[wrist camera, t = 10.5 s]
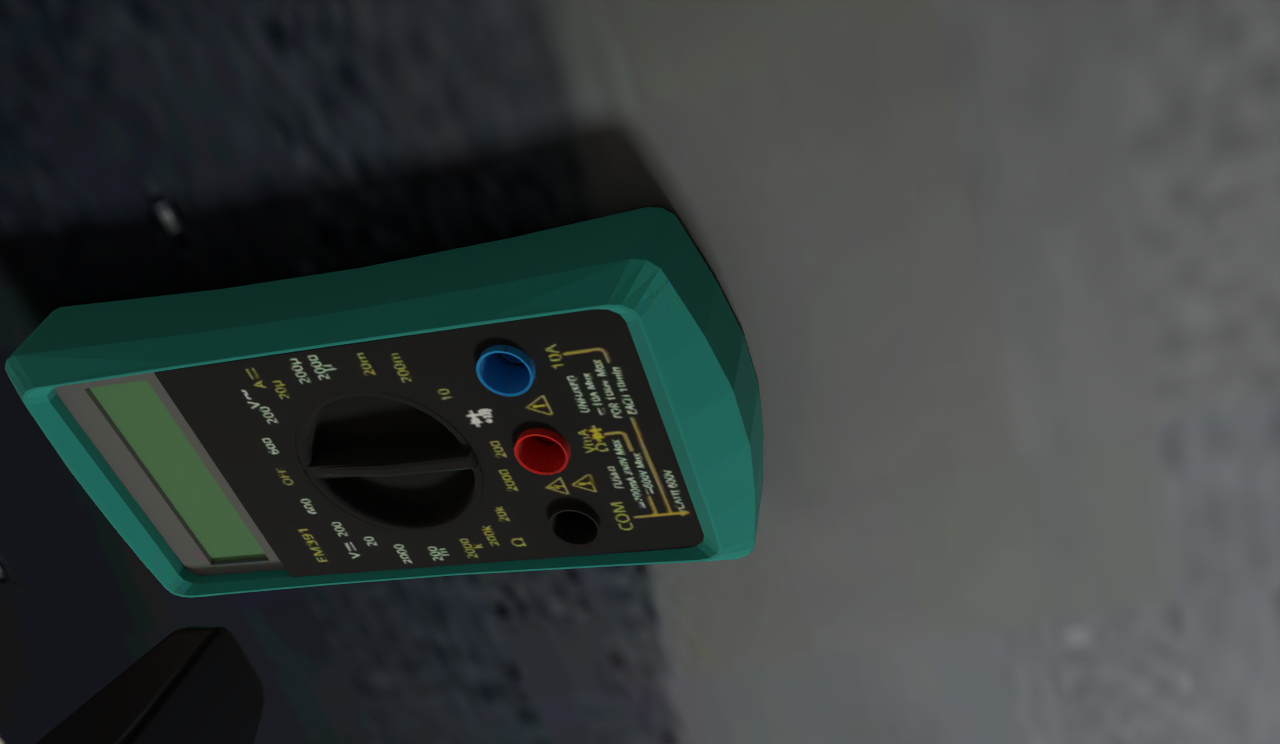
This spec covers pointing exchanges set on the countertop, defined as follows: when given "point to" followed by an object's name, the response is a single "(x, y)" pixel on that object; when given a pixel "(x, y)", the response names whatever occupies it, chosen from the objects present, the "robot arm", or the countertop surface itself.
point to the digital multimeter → (416, 415)
